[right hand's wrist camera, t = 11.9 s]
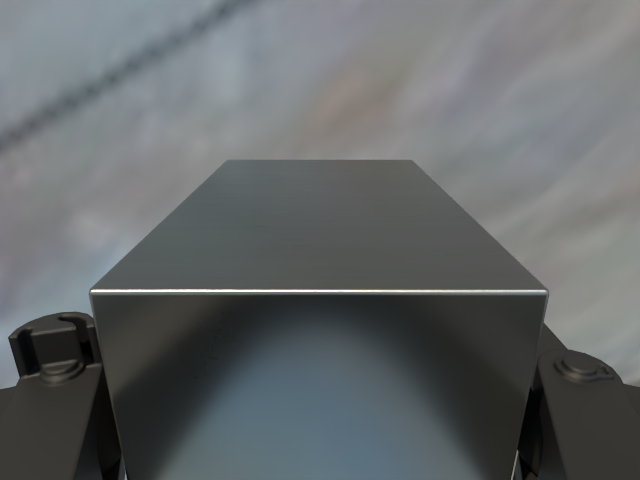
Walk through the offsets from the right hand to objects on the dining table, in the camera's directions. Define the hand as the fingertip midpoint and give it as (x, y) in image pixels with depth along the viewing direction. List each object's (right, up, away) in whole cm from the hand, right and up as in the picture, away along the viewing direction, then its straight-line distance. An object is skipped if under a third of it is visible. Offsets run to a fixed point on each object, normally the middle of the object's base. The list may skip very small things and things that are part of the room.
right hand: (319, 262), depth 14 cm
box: (0, -7, +3) cm, 8 cm away
